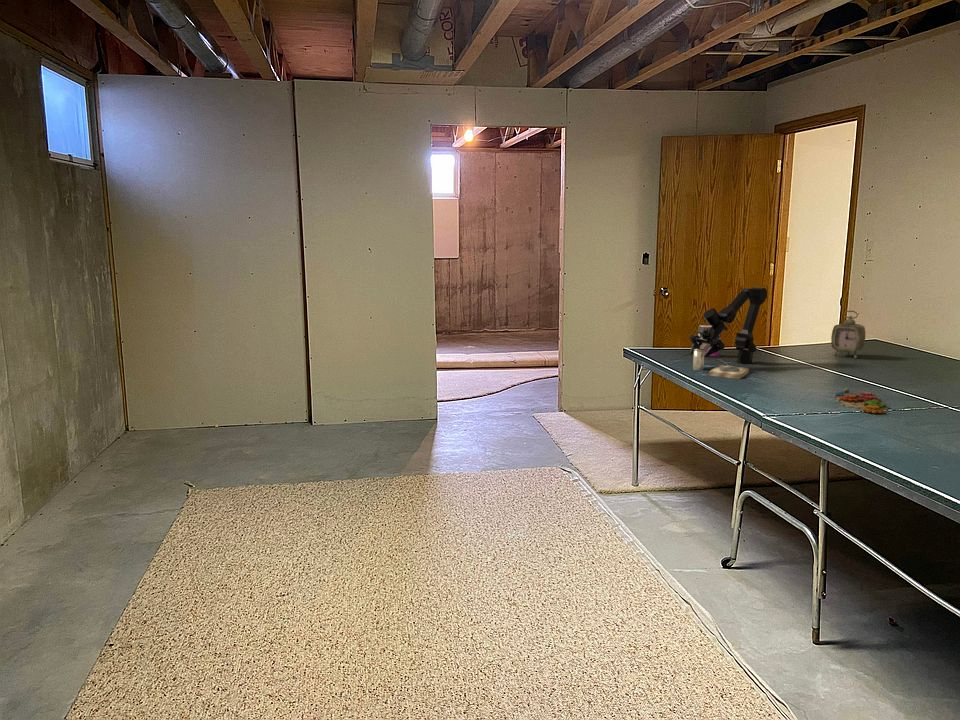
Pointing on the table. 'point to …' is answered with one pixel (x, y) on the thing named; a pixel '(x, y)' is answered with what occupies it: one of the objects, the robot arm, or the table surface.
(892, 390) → the table surface
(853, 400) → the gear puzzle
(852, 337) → the tabletop clock
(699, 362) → the canister
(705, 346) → the candy bar box
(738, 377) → the plinth
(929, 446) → the table surface
